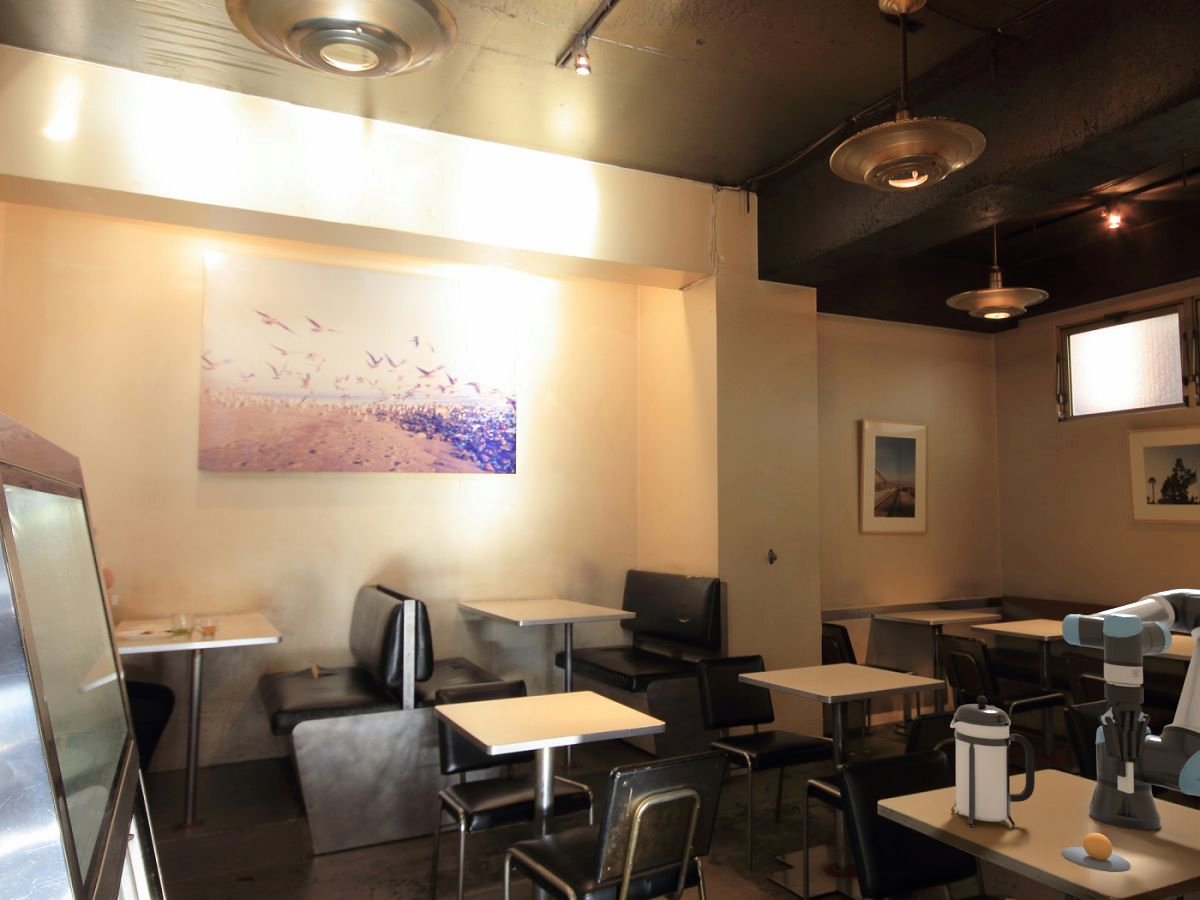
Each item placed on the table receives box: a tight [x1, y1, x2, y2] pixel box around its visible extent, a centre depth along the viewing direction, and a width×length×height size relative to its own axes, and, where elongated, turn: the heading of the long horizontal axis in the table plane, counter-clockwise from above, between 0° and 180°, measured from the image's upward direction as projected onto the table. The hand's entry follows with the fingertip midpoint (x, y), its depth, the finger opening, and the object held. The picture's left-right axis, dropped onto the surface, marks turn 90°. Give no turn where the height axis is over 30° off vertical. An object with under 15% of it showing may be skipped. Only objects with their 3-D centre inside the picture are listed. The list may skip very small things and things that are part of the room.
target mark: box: [1061, 846, 1132, 872], centre depth 184 cm, size 13×13×1 cm
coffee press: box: [950, 695, 1036, 830], centre depth 208 cm, size 17×16×30 cm
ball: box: [1082, 832, 1113, 860], centre depth 184 cm, size 6×6×6 cm
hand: (1125, 791), depth 188 cm, fingers closed
